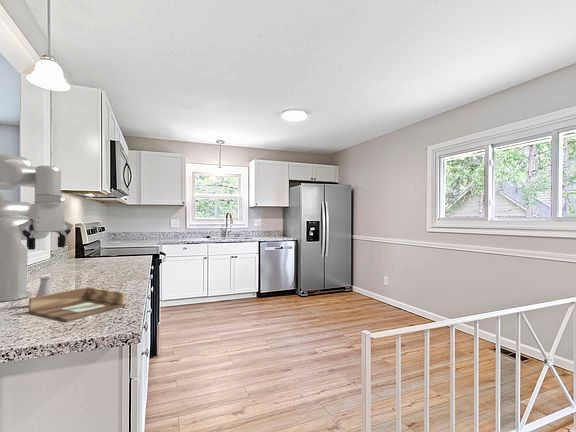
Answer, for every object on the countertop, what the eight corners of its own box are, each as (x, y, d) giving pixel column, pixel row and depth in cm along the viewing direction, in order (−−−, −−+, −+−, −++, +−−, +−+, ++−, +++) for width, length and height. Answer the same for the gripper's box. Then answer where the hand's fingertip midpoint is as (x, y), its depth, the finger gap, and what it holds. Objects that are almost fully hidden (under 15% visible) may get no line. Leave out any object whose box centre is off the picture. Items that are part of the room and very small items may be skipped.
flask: (43, 308, 108) (44, 279, 109) (26, 307, 110) (27, 278, 110) (62, 303, 116) (63, 275, 116) (46, 301, 117) (46, 274, 117)
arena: (28, 313, 103) (29, 298, 103) (88, 299, 121) (89, 286, 121) (67, 321, 95) (67, 305, 95) (125, 305, 113) (125, 292, 113)
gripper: (66, 202, 123) (65, 246, 122) (13, 199, 107) (11, 249, 107) (78, 201, 120) (78, 247, 119) (25, 198, 104) (24, 250, 104)
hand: (46, 248), depth 113 cm, fingers open, 9 cm apart
